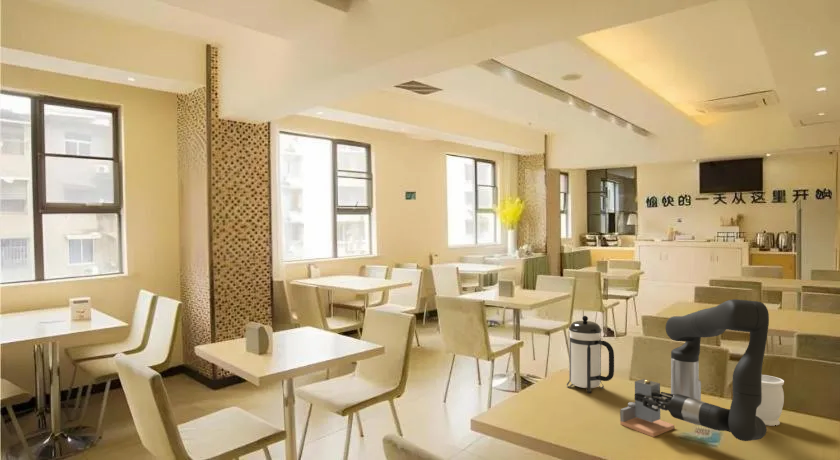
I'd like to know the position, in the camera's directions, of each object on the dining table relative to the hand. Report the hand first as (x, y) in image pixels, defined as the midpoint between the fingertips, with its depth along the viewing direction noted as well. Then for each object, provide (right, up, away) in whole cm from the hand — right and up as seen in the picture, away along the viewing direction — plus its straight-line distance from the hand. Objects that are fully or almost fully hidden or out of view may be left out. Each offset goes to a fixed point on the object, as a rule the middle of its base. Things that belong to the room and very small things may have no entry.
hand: (640, 394), depth 170 cm
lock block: (+2, -7, -2) cm, 7 cm away
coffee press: (-5, -9, +37) cm, 38 cm away
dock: (+1, -10, -2) cm, 10 cm away
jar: (+44, -10, +2) cm, 45 cm away
